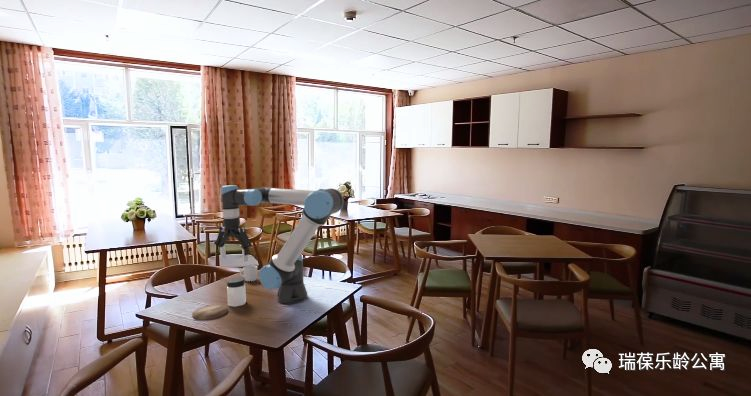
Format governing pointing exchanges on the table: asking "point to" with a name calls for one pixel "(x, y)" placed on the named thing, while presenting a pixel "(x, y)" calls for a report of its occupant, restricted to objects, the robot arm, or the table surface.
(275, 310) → the table surface
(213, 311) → the disc
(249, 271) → the cup
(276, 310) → the table surface
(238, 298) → the jar
